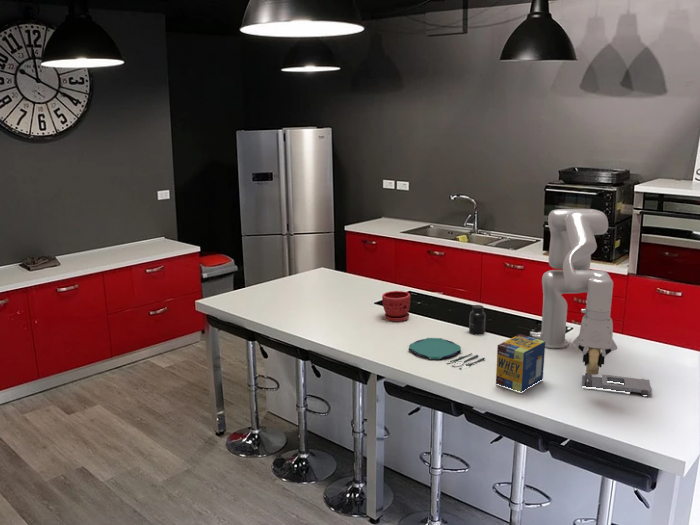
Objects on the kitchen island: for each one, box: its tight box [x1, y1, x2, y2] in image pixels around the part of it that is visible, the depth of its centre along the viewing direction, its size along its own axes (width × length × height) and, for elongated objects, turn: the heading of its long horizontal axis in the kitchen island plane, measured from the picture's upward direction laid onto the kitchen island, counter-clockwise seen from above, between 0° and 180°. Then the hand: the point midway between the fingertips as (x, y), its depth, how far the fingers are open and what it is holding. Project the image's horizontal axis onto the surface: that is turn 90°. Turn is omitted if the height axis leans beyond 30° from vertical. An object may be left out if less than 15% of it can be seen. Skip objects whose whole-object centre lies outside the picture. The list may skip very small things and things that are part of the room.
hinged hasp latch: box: [581, 372, 652, 396], centre depth 219 cm, size 22×10×2 cm, turn 69°
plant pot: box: [381, 290, 411, 322], centre depth 293 cm, size 13×13×12 cm
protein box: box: [495, 333, 546, 392], centre depth 223 cm, size 10×15×16 cm
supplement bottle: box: [468, 304, 487, 335], centre depth 274 cm, size 7×7×12 cm
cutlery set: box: [408, 337, 486, 367], centre depth 251 cm, size 20×30×2 cm, turn 38°
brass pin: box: [585, 347, 602, 376], centre depth 210 cm, size 4×4×10 cm
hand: (593, 364), depth 210 cm, fingers closed on brass pin, 4 cm apart
